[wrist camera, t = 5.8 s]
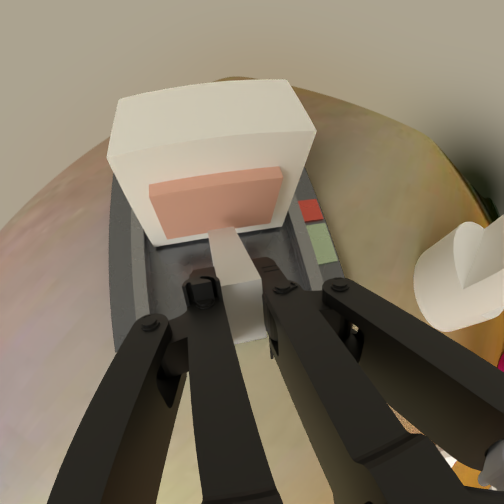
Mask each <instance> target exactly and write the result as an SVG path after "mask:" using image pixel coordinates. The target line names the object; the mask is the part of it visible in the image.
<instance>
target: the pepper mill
mask: <svg viewBox="0 0 504 504" xmlns="http://www.w3.org/2000/svg"><path fill="white" fill-rule="evenodd" d="M498 369H500V370H501V371H503V372H504V353H503V355H502V356H501V358H500V361H499V364H498Z"/></svg>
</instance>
